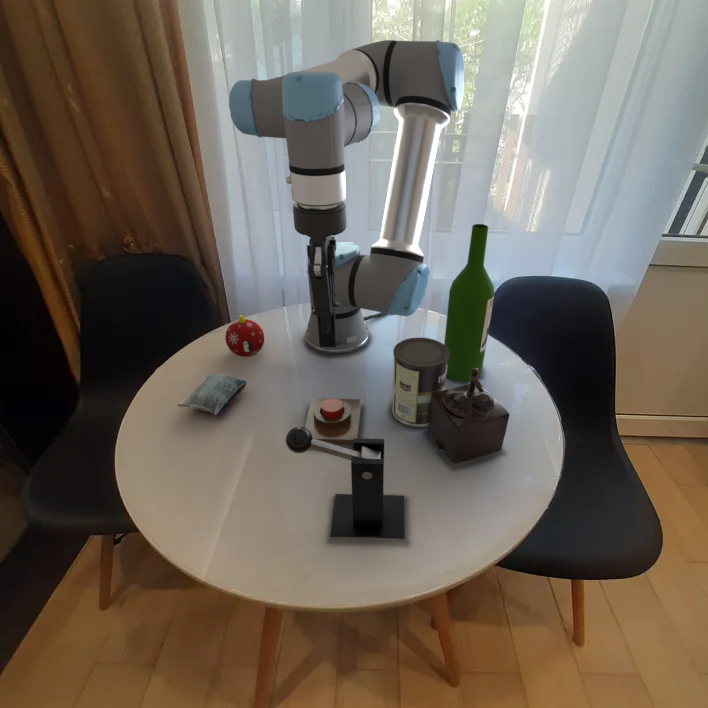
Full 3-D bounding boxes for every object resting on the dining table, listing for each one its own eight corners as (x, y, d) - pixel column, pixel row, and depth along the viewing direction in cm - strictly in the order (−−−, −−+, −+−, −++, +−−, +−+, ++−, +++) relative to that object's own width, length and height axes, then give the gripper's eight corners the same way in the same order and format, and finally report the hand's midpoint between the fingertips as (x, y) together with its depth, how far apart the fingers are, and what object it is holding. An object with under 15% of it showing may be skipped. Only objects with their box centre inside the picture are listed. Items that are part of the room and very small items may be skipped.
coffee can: (445, 398, 101) (451, 340, 92) (439, 431, 93) (446, 370, 84) (396, 392, 102) (398, 334, 94) (387, 423, 94) (388, 362, 86)
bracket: (330, 540, 72) (324, 470, 64) (335, 498, 79) (331, 430, 70) (404, 542, 72) (408, 472, 64) (403, 500, 79) (407, 432, 70)
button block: (311, 406, 98) (310, 390, 96) (361, 407, 98) (360, 391, 96) (302, 447, 88) (300, 431, 86) (357, 449, 88) (356, 432, 86)
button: (323, 405, 93) (322, 398, 92) (343, 405, 93) (343, 398, 92) (320, 418, 89) (319, 411, 88) (342, 419, 89) (341, 412, 88)
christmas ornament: (265, 342, 118) (259, 305, 112) (267, 361, 111) (262, 322, 105) (228, 346, 116) (221, 309, 110) (229, 366, 109) (220, 327, 103)
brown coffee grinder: (422, 432, 92) (429, 352, 82) (472, 418, 96) (485, 340, 85) (464, 490, 81) (477, 406, 70) (519, 472, 84) (540, 389, 74)
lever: (280, 454, 65) (287, 435, 63) (285, 436, 68) (292, 418, 66) (372, 480, 68) (381, 463, 66) (373, 461, 71) (382, 445, 69)
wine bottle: (481, 384, 105) (505, 236, 86) (440, 379, 106) (454, 232, 87) (482, 361, 112) (504, 220, 93) (443, 357, 113) (457, 217, 94)
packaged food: (180, 415, 95) (174, 395, 92) (214, 381, 104) (210, 362, 101) (219, 424, 93) (215, 404, 90) (250, 389, 102) (247, 370, 100)
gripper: (299, 189, 74) (311, 325, 88) (284, 215, 63) (300, 365, 77) (349, 190, 74) (352, 326, 88) (341, 216, 63) (347, 366, 77)
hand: (328, 344), depth 82 cm, fingers closed
